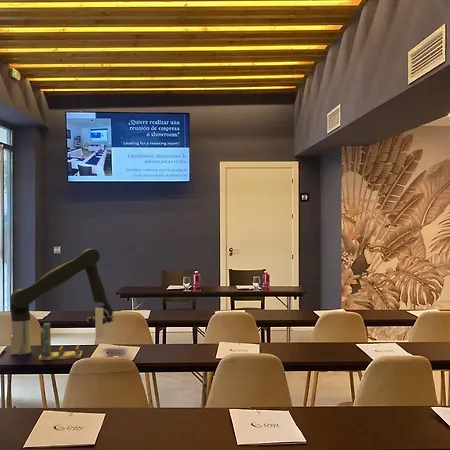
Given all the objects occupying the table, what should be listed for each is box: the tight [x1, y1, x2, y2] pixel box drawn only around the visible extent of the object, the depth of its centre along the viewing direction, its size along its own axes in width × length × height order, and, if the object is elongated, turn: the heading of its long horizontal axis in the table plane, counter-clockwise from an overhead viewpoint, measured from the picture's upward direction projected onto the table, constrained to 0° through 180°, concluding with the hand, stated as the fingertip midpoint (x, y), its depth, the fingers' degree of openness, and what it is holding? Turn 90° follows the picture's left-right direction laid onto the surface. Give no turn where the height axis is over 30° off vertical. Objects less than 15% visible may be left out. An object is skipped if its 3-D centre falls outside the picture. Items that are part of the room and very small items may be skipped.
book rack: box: [38, 322, 83, 361], centre depth 281 cm, size 20×10×16 cm, turn 99°
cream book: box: [94, 307, 105, 339], centre depth 281 cm, size 4×6×14 cm, turn 9°
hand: (99, 321), depth 278 cm, fingers closed on cream book, 3 cm apart
